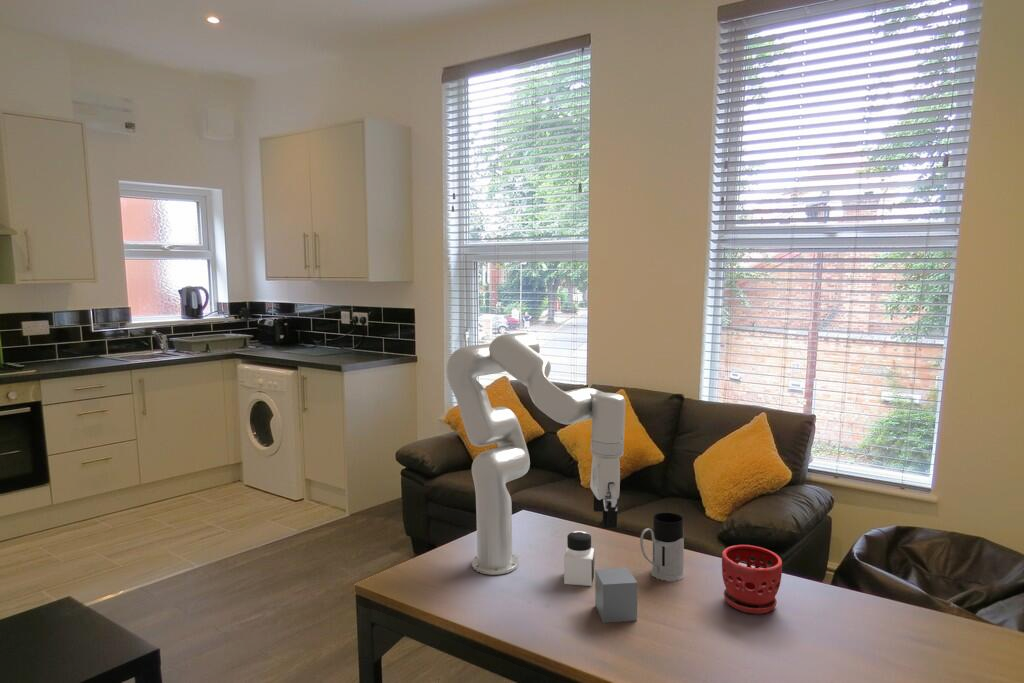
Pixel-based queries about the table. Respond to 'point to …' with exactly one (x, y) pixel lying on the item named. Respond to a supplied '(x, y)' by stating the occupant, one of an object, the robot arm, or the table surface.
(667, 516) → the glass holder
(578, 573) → the medicine bottle
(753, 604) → the plant pot
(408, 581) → the table surface
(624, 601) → the gray cube
